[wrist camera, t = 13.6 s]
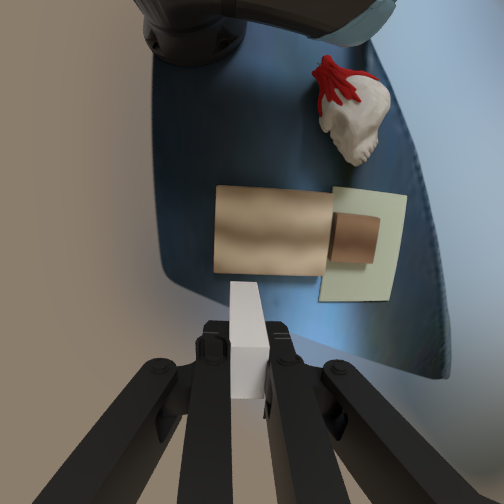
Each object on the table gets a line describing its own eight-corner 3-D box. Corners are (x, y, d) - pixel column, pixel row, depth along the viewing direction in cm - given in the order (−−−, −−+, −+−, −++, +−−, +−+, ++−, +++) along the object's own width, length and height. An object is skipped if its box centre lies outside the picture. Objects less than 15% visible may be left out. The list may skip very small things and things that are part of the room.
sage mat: (332, 186, 42) (333, 186, 41) (405, 195, 43) (407, 195, 42) (318, 299, 47) (319, 301, 46) (387, 299, 48) (388, 300, 47)
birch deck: (217, 185, 41) (216, 186, 38) (328, 192, 42) (333, 194, 40) (214, 267, 44) (213, 272, 42) (319, 270, 45) (324, 276, 43)
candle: (344, 171, 41) (280, 91, 39) (396, 132, 39) (336, 57, 37) (365, 166, 32) (285, 68, 30) (424, 120, 30) (351, 30, 28)
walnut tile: (333, 211, 42) (337, 213, 40) (374, 216, 43) (380, 218, 41) (327, 257, 44) (331, 261, 42) (367, 259, 45) (373, 263, 43)
